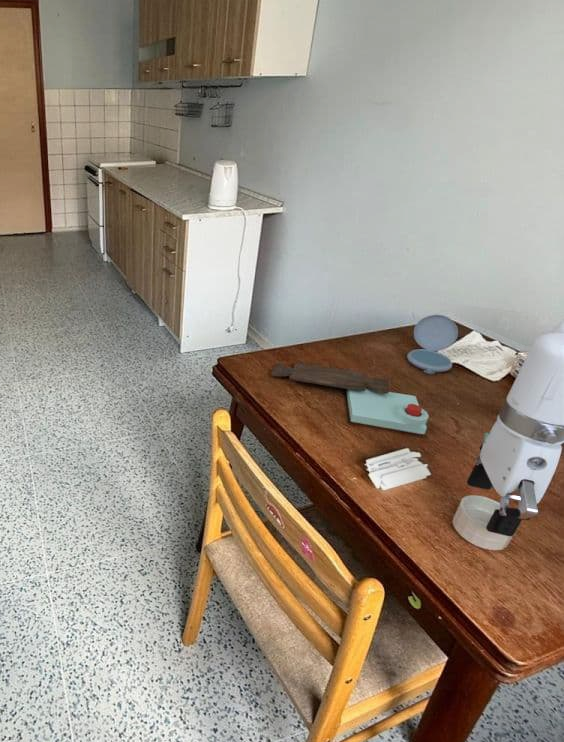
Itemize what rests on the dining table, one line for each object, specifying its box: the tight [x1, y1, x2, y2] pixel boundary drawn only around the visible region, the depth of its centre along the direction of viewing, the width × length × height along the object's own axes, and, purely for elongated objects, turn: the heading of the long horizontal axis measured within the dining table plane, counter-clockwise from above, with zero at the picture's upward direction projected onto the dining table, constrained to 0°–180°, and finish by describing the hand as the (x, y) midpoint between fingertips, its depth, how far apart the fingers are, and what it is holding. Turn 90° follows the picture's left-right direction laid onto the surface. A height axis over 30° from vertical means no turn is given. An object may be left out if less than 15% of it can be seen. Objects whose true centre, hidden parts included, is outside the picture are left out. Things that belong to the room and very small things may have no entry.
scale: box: [346, 387, 430, 435], centre depth 104 cm, size 14×12×4 cm
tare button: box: [406, 404, 423, 417], centre depth 99 cm, size 3×3×2 cm
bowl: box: [451, 494, 514, 551], centre depth 75 cm, size 7×7×5 cm
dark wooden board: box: [270, 362, 390, 394], centre depth 114 cm, size 26×2×10 cm
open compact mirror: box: [406, 314, 459, 375], centre depth 120 cm, size 10×11×15 cm
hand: (487, 508), depth 73 cm, fingers open, 9 cm apart
